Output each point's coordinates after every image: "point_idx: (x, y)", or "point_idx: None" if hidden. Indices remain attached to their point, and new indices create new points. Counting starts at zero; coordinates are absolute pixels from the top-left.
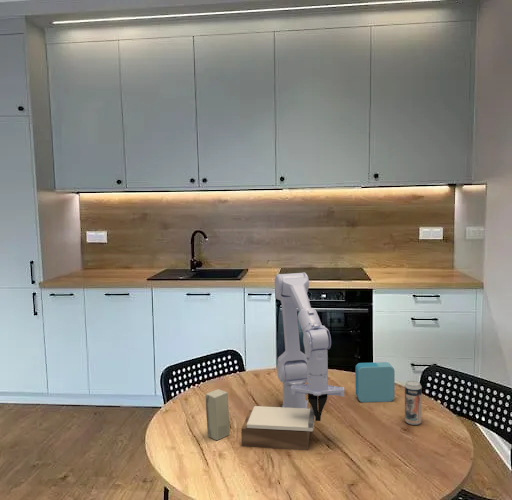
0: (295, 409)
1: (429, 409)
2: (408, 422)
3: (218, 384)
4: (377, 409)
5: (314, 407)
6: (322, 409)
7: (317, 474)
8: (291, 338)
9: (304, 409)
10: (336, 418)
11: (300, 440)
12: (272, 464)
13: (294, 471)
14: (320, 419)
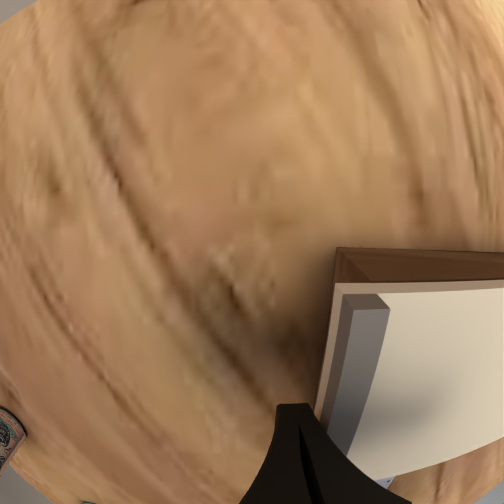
0: (399, 466)
1: None
2: (11, 418)
3: (475, 496)
4: (103, 488)
5: (339, 472)
6: (263, 466)
7: (281, 33)
8: None
9: None
10: (210, 474)
11: (389, 261)
12: (467, 119)
13: (384, 58)
14: (276, 415)
